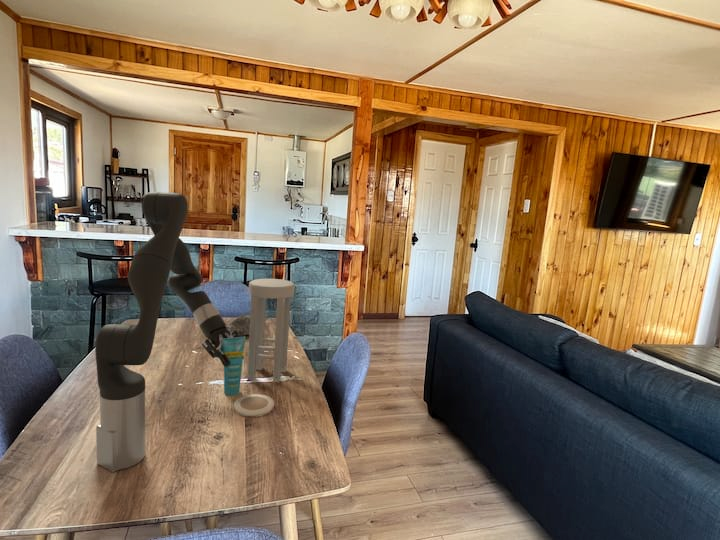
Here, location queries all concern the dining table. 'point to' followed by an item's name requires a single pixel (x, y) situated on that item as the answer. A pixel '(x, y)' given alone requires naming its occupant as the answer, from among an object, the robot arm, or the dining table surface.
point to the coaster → (253, 405)
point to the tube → (233, 364)
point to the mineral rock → (240, 325)
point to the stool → (259, 293)
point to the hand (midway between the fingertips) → (235, 362)
